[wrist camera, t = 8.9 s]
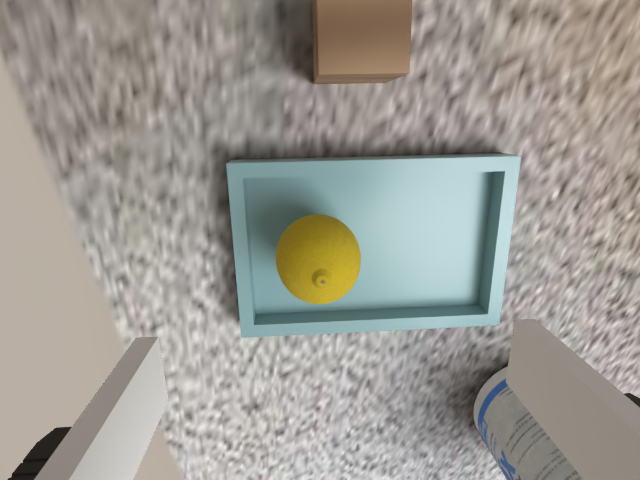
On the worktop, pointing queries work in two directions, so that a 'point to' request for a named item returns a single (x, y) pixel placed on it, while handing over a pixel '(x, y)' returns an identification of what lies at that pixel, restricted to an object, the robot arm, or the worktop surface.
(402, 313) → the tray
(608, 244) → the worktop surface
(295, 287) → the lemon
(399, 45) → the walnut block
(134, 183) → the worktop surface
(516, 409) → the supplement tub
